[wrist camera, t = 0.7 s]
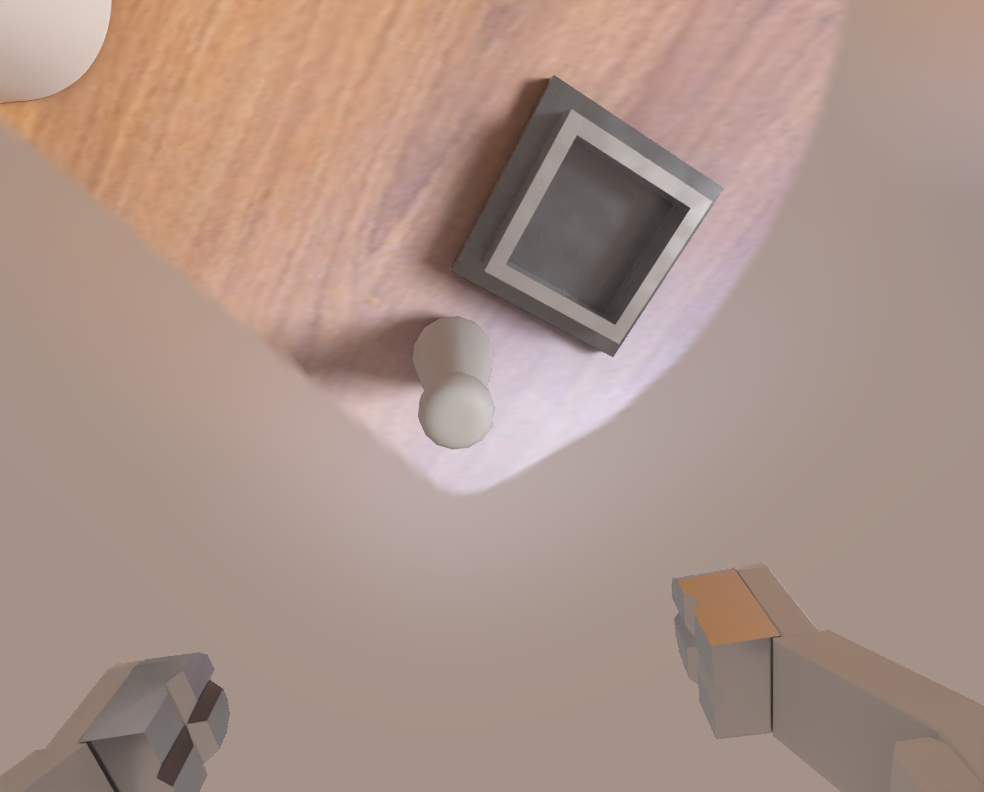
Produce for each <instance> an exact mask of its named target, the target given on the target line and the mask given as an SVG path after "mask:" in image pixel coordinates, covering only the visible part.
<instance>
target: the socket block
mask: <svg viewBox="0 0 984 792" xmlns="http://www.w3.org/2000/svg"><path fill="white" fill-rule="evenodd" d="M723 189H724V188H722V187H721V186H719V185H718V184H716V183H715V182H713V181H712V180H710V179H709V178H707V177H706V176H704V175H703V174H701V173H700V172H698V171H697V170H695V169H694V168H692V167H691V166H689V165H688V164H686V163H685V162H683V161H682V160H680V159H679V158H677V157H676V156H674V155H673V154H671V153H670V152H669V151H667V150H666V149H664V148H663V147H661V146H660V145H658V144H657V143H655V142H654V141H652V140H651V139H649V138H648V137H646V136H645V135H643V134H642V133H640V132H639V131H637V130H636V129H634V128H633V127H631V126H630V125H628V124H627V123H625V122H624V121H622V120H621V119H619V118H618V117H616V116H615V115H613V114H612V113H610V112H609V111H607V110H606V109H604V108H603V107H601V106H600V105H598V104H597V103H595V102H594V101H592V100H591V99H589V98H588V97H586V96H585V95H583V94H582V93H580V92H579V91H577V90H576V89H574V88H573V87H571V86H570V85H568V84H567V83H565V82H564V81H562V80H561V79H559V78H558V77H556V76H555V75H554V76H552V77H551V78H550V79H549V81H548V83H547V85H546V87H545V88H544V90H543V92H542V94H541V96H540V98H539V100H538V102H537V104H536V106H535V108H534V110H533V112H532V114H531V115H530V117H529V119H528V121H527V123H526V125H525V127H524V129H523V131H522V133H521V135H520V137H519V139H518V141H517V142H516V144H515V146H514V148H513V150H512V152H511V154H510V156H509V158H508V160H507V162H506V164H505V166H504V168H503V169H502V171H501V173H500V175H499V177H498V179H497V181H496V183H495V185H494V187H493V189H492V191H491V193H490V195H489V196H488V198H487V200H486V202H485V204H484V206H483V208H482V210H481V212H480V214H479V216H478V218H477V220H476V222H475V224H474V225H473V227H472V229H471V231H470V233H469V235H468V237H467V239H466V241H465V243H464V245H463V247H462V249H461V251H460V252H459V254H458V256H457V258H456V260H455V262H454V264H453V266H452V272H454V273H456V274H458V275H460V276H461V277H463V278H465V279H467V280H469V281H471V282H473V283H475V284H476V285H478V286H480V287H482V288H484V289H486V290H488V291H490V292H491V293H493V294H495V295H497V296H499V297H501V298H503V299H505V300H507V301H508V302H510V303H512V304H514V305H516V306H518V307H520V308H522V309H523V310H525V311H527V312H529V313H531V314H533V315H535V316H537V317H538V318H540V319H542V320H544V321H546V322H548V323H550V324H552V325H553V326H555V327H557V328H559V329H561V330H563V331H565V332H567V333H569V334H570V335H572V336H574V337H576V338H578V339H580V340H582V341H584V342H585V343H587V344H589V345H591V346H593V347H595V348H597V349H599V350H600V351H602V352H604V353H606V354H608V355H610V356H612V357H613V356H614V355H615V353H616V352H617V350H618V349H619V347H620V346H621V344H622V343H623V341H624V340H625V338H626V337H627V335H628V334H629V332H630V331H631V329H632V328H633V326H634V324H635V323H636V321H637V320H638V318H639V317H640V315H641V314H642V312H643V311H644V309H645V308H646V306H647V305H648V303H649V302H650V300H651V299H652V297H653V296H654V294H655V293H656V291H657V289H658V288H659V286H660V285H661V283H662V282H663V280H664V279H665V277H666V276H667V274H668V273H669V271H670V270H671V268H672V267H673V265H674V264H675V262H676V261H677V259H678V257H679V256H680V254H681V253H682V251H683V250H684V248H685V247H686V245H687V244H688V242H689V241H690V239H691V238H692V236H693V235H694V233H695V232H696V230H697V229H698V227H699V226H700V224H701V222H702V221H703V219H704V218H705V216H706V215H707V213H708V212H709V210H710V209H711V207H712V206H713V204H714V203H715V201H716V200H717V198H718V197H719V195H720V194H721V192H722V191H723Z"/></svg>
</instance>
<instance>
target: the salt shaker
mask: <svg viewBox="0 0 984 792" xmlns="http://www.w3.org/2000/svg"><path fill="white" fill-rule="evenodd" d="M493 356H494V351H493V348H492V345H491V342H490V339H489V336H488V335H487V334H486V333H485V332H484V331H483V330H482V329H481V328H480V327H479V326H478V325H477V324H476V323H475V322H473V321H470V320H467V319H464V318H461V317H458V316H457V317H448V318H440V319H438V320H436V321H435V322H433V323H431V324H430V325H428V326H426V327H425V328H424V329H423V331H422V332H421V334H420V336H419V337H418V339H417V340H416V342H415V344H414V351H413V360H412V362H413V364H414V367H415V369H416V372H417V374H418V377H419V379H420V382H421V384H422V387H423V389H424V392H423V394H422V395H421V398H420V402H419V412H418V418H419V421H420V423H421V425H422V428H423V430H424V432H425V435H426V436H428V437H429V438H430V439H431V440H432V441H433V442H434V443H436V444H437V445H439V446H443V447H446V448H450V449H460V448H469V447H471V446H472V445H474V444H476V443H478V442H479V441H481V440H483V438H484V437H485V436H486V434H487V433H488V432H489V430H490V429H491V427H492V423H493V416H494V409H495V407H494V404H493V401H492V398H491V395H490V392H489V389H488V388H487V385H488V382H489V378H490V374H491V370H492V363H493Z"/></svg>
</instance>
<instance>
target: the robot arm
mask: <svg viewBox="0 0 984 792" xmlns="http://www.w3.org/2000/svg"><path fill="white" fill-rule="evenodd" d="M111 2H112V0H0V103H5V102H16V101H28V100H35V99H39V98H44V97H47V96H50V95H53V94H55V93H57V92H59V91H61V90H63V89H65V88H67V87H68V86H70V85H71V84H73V83H74V82H75V81H77V80H78V79H79V78H80V77H81V76H82V75H83V74H84V73H85V72H86V71H87V70H88V68H89V67H90V66H91V64H92V63H93V62H94V60H95V58H96V57H97V55H98V53H99V51H100V49H101V47H102V45H103V42H104V39H105V36H106V33H107V30H108V25H109V21H110V14H111ZM672 598H673V600H674V602H675V605H676V606H677V609H678V611H679V613H678V614H677V616H676V617H675V619H674V624H675V633H676V639H677V643H678V648H679V652H680V655H681V658H682V661H683V664H684V667H685V669H686V672H687V674H688V676H689V678H690V679H691V680H693V681H694V682H696V683H697V684H698V687H699V700H700V704H701V706H702V708H703V711H704V713H705V715H706V717H707V719H708V722H709V724H710V726H711V728H712V731H713V733H714V735H715V737H716V739H723V738H732V737H741V736H749V735H758V734H767V733H773V736H774V737H775V738H777V739H778V740H779V741H780V742H781V743H783V744H784V745H785V746H786V747H787V748H789V749H790V750H791V751H792V752H793V753H795V754H796V755H797V756H798V757H800V758H801V759H802V760H803V761H804V762H806V763H807V764H808V765H809V766H810V767H812V768H813V769H814V770H815V771H817V772H818V773H819V774H820V775H821V776H823V777H824V778H825V779H826V780H828V781H829V782H830V783H831V784H833V785H834V786H835V787H836V788H837V789H838V790H840V791H841V792H984V706H983V705H981V704H979V703H977V702H975V701H973V700H971V699H969V698H967V697H965V696H963V695H961V694H959V693H957V692H954V691H953V690H950V689H948V688H946V687H944V686H942V685H940V684H938V683H936V682H934V681H932V680H930V679H928V678H926V677H924V676H922V675H920V674H918V673H916V672H914V671H912V670H910V669H907V668H905V667H903V666H901V665H899V664H897V663H895V662H893V661H891V660H889V659H887V658H885V657H883V656H881V655H879V654H877V653H875V652H873V651H871V650H868V649H867V648H864V647H862V646H860V645H858V644H856V643H854V642H852V641H850V640H848V639H846V638H844V637H842V636H840V635H838V634H836V633H834V632H832V631H830V630H826V631H819V630H818V629H817V628H816V627H815V625H814V624H813V623H812V622H811V620H810V619H809V618H808V617H807V615H806V614H805V613H804V611H803V610H802V609H801V608H800V606H799V605H798V604H797V603H796V602H795V600H794V599H793V598H792V596H791V595H790V594H789V593H788V591H787V590H786V589H785V588H784V586H783V585H782V584H781V582H780V581H779V580H778V579H777V577H776V576H775V575H774V574H773V572H772V571H771V570H770V569H769V567H768V566H767V565H765V564H763V563H756V564H751V565H745V566H740V567H734V568H732V569H727V570H720V571H715V572H709V573H702V574H697V575H690V576H684V577H678V578H673V579H672ZM213 672H214V667H213V665H212V663H211V661H210V659H209V657H208V655H207V654H203V653H192V654H183V655H176V656H168V657H161V658H153V659H146V660H144V661H134V662H127V663H119V664H117V665H115V666H113V667H111V668H109V669H108V670H107V671H106V672H105V673H104V675H103V676H102V677H101V678H100V680H99V681H98V682H97V684H96V685H95V686H94V687H93V689H92V690H91V691H90V692H89V694H88V695H87V696H86V697H85V699H84V700H83V701H82V703H81V704H80V705H79V706H78V708H77V709H76V710H75V711H74V713H73V714H72V715H71V716H70V718H69V719H68V720H67V722H66V723H65V724H64V725H63V727H62V728H61V729H60V731H59V732H58V733H57V734H56V735H55V737H54V738H53V739H52V740H51V742H50V743H49V745H48V746H47V747H46V748H45V749H42V750H36V751H34V752H33V753H31V754H30V755H28V756H27V757H26V758H24V759H23V760H22V761H20V762H19V763H17V764H16V765H15V766H13V767H12V768H10V769H9V770H8V771H6V772H5V773H3V774H2V775H1V776H0V792H200V790H201V787H202V785H203V783H204V781H205V779H206V777H207V771H206V767H205V764H204V763H205V762H206V761H207V760H208V759H209V758H210V757H212V756H213V755H214V754H215V753H216V752H217V751H218V750H219V749H220V747H221V744H222V742H223V740H224V738H225V735H226V733H227V728H228V721H229V715H230V712H229V705H228V699H227V697H226V694H225V692H224V689H223V688H221V687H220V686H218V685H217V684H215V683H214V682H212V681H211V680H210V679H211V677H212V674H213Z"/></svg>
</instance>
